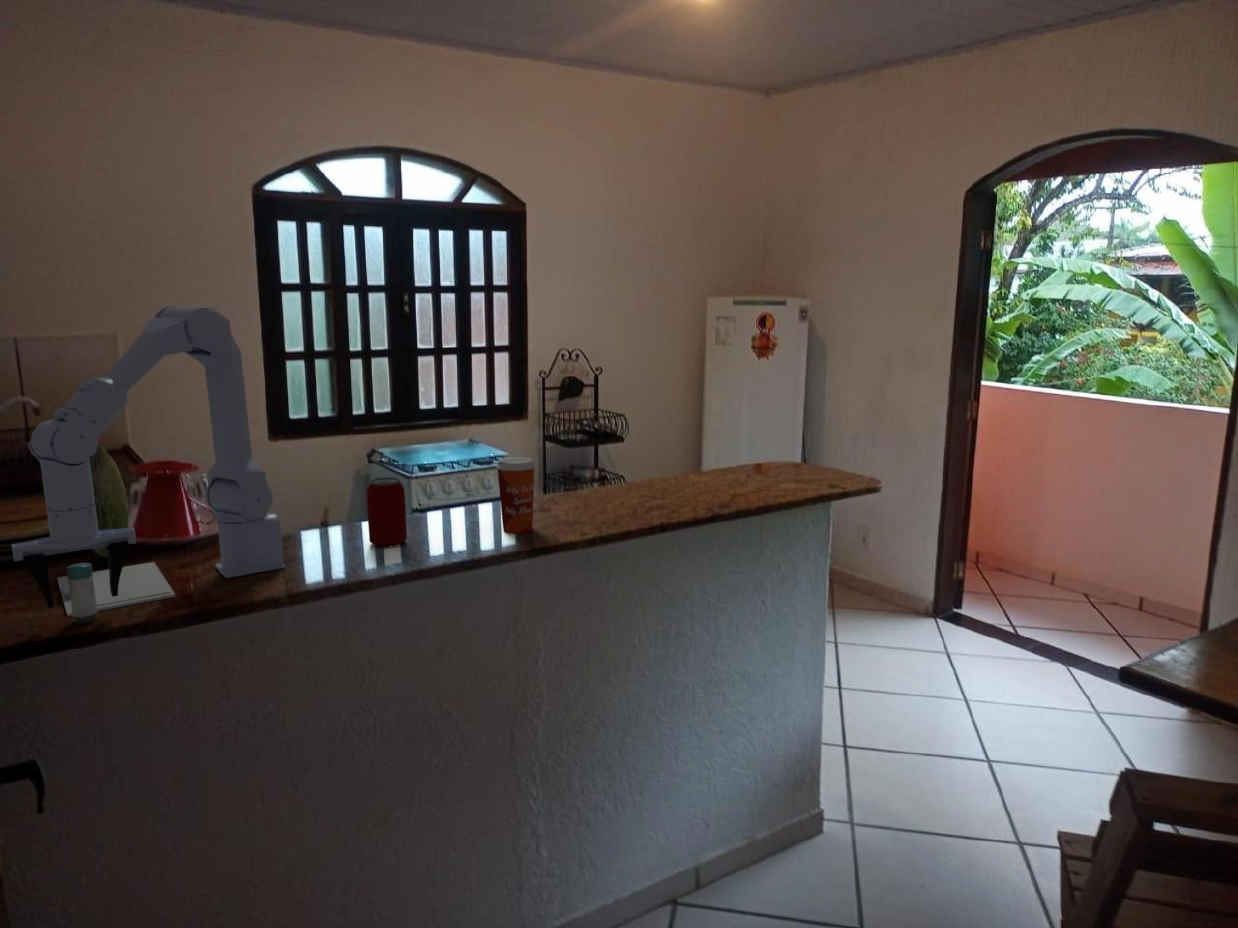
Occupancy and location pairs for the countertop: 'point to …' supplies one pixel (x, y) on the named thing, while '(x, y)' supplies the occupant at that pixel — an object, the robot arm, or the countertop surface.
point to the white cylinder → (82, 593)
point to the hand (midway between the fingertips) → (83, 599)
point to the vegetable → (108, 494)
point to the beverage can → (386, 512)
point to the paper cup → (516, 493)
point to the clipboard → (124, 587)
